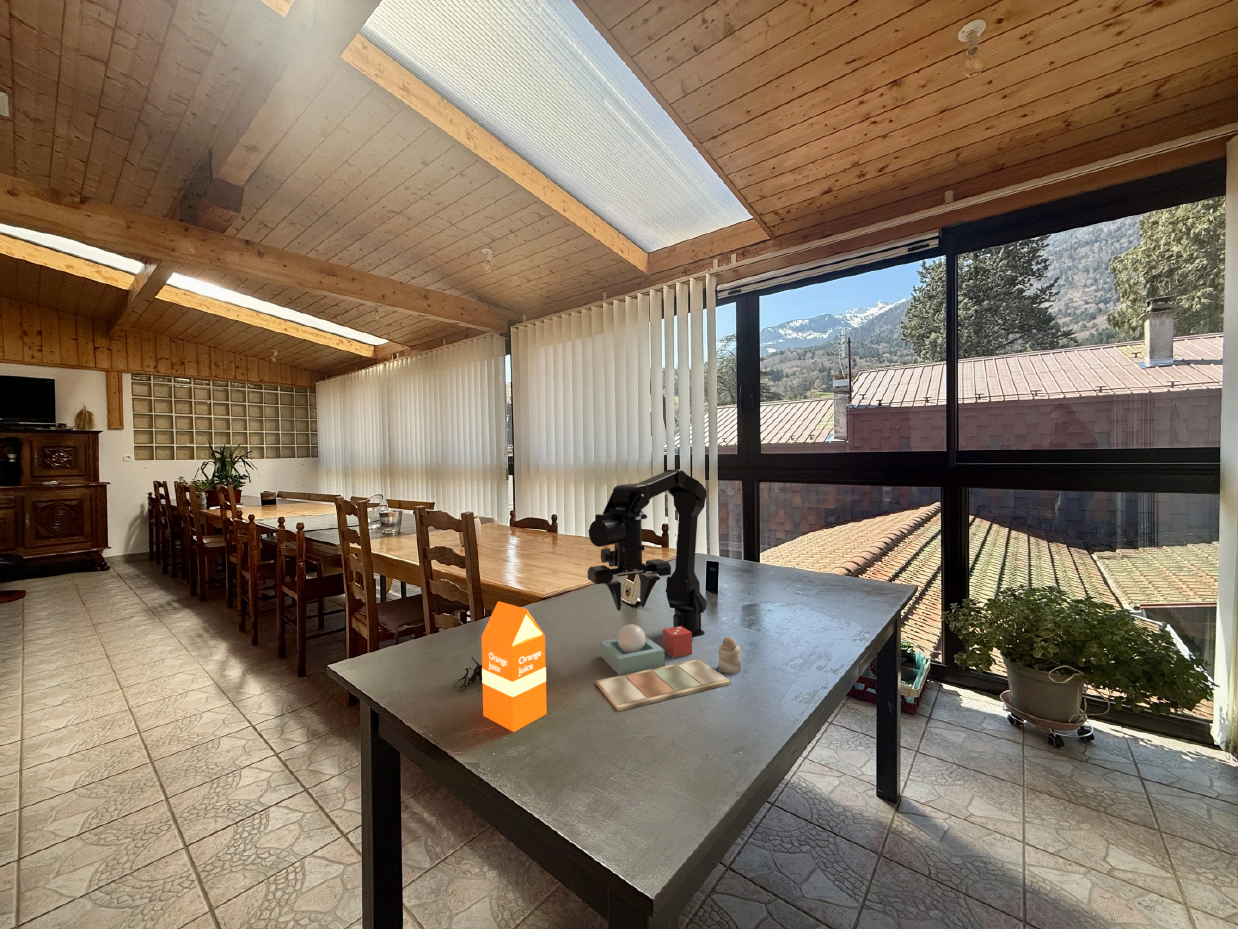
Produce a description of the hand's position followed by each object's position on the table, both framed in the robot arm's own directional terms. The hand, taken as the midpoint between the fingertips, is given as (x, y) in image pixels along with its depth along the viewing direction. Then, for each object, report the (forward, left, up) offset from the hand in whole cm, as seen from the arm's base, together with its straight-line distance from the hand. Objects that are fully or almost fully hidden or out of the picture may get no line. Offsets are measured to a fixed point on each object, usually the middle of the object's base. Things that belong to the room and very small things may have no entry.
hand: (630, 608), depth 111 cm
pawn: (-17, +13, -12) cm, 25 cm away
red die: (-12, 0, -12) cm, 17 cm away
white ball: (0, 0, -10) cm, 10 cm away
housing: (0, 0, -12) cm, 12 cm away
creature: (+35, -2, -12) cm, 37 cm away
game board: (-1, +13, -12) cm, 18 cm away
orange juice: (+29, +12, -12) cm, 34 cm away
